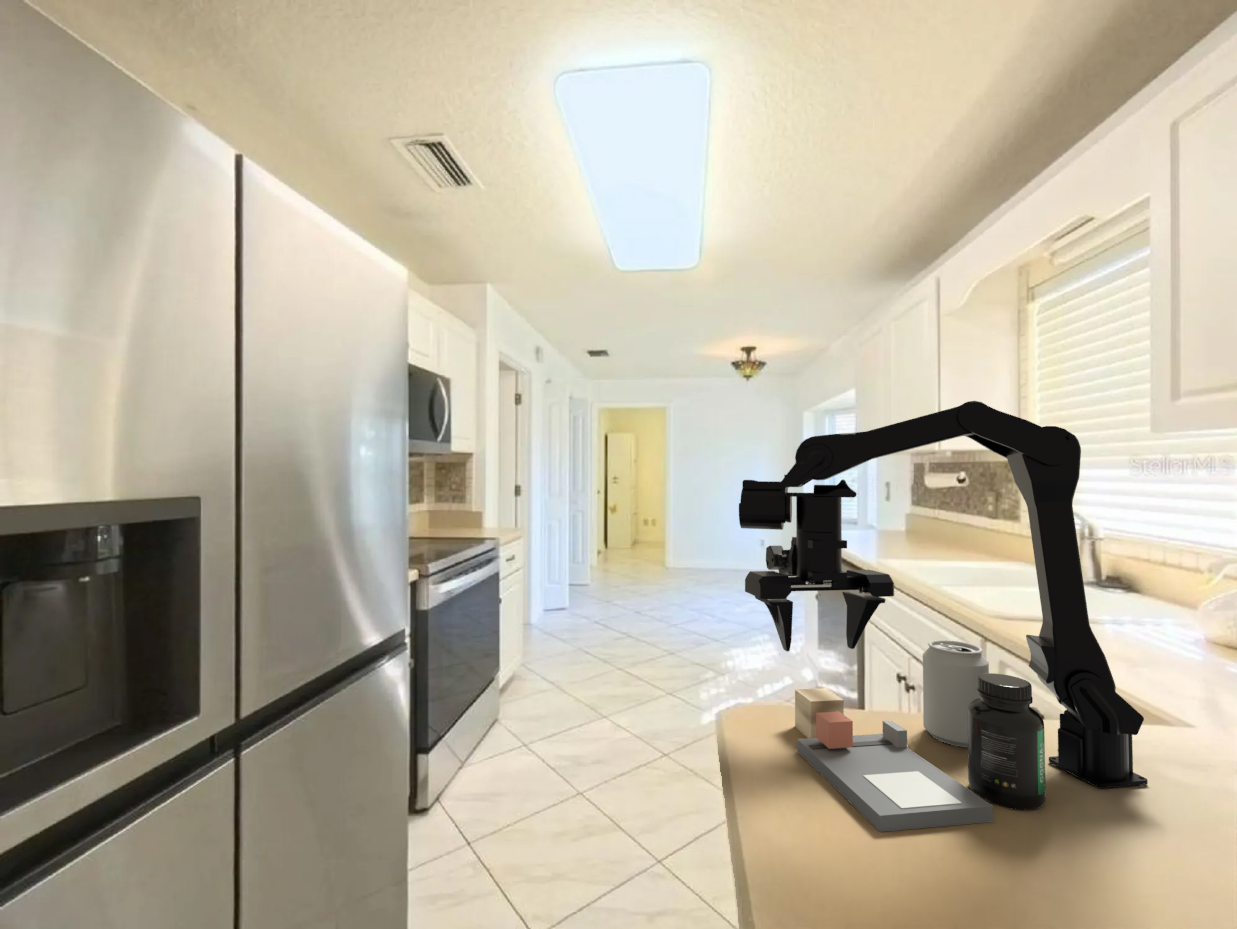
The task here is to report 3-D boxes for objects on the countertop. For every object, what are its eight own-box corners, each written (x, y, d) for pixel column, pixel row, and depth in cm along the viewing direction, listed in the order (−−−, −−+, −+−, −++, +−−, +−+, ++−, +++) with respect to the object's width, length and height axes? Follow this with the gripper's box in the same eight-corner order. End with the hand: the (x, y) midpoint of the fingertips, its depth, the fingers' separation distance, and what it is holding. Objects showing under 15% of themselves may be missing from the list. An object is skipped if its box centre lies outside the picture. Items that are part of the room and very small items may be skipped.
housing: (826, 725, 80) (825, 688, 81) (843, 739, 76) (843, 699, 76) (795, 727, 80) (794, 689, 80) (811, 741, 75) (810, 701, 76)
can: (1000, 753, 72) (998, 654, 73) (933, 747, 74) (932, 650, 74) (976, 728, 80) (975, 639, 80) (916, 723, 81) (915, 635, 82)
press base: (886, 745, 74) (886, 717, 74) (993, 821, 57) (992, 784, 57) (797, 751, 72) (797, 722, 72) (880, 831, 55) (879, 793, 55)
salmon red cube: (839, 736, 72) (839, 711, 72) (852, 747, 69) (852, 721, 69) (816, 737, 72) (816, 712, 72) (828, 748, 69) (828, 722, 69)
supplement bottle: (1062, 810, 59) (1060, 689, 60) (1001, 814, 59) (999, 691, 59) (1010, 777, 66) (1008, 669, 67) (953, 780, 65) (952, 670, 66)
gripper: (849, 526, 88) (849, 632, 88) (730, 527, 85) (730, 636, 84) (896, 532, 77) (897, 653, 77) (762, 533, 74) (761, 658, 73)
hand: (818, 649), depth 78 cm, fingers open, 9 cm apart
